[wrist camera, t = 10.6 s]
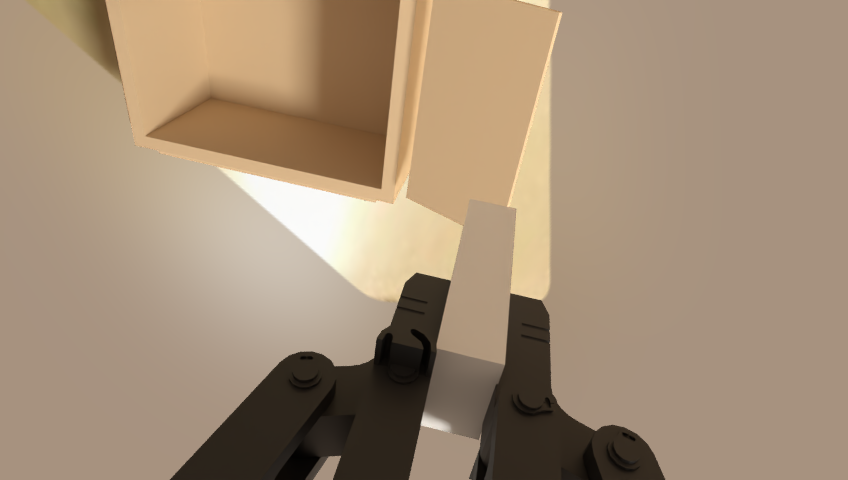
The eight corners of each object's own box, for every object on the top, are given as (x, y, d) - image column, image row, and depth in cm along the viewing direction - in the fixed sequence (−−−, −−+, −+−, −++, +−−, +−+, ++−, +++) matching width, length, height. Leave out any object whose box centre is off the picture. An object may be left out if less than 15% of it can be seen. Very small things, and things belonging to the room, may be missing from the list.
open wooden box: (200, 109, 48) (129, 150, 40) (172, -123, 38) (69, -131, 30) (419, 156, 47) (392, 210, 38) (453, -75, 36) (425, -68, 28)
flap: (497, 242, 33) (500, 239, 33) (559, 12, 25) (563, 12, 25) (406, 197, 36) (410, 195, 36) (435, -20, 28) (440, -21, 28)
